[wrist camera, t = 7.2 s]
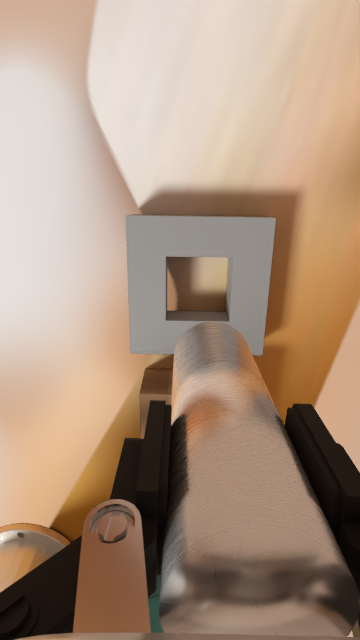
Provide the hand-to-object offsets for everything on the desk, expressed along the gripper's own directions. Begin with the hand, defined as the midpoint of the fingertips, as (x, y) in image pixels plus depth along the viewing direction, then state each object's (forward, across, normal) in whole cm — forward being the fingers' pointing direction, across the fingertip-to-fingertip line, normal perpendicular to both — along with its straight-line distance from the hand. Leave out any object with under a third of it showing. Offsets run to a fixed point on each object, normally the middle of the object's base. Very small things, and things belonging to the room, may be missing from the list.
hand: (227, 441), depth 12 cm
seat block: (+22, 0, -1) cm, 22 cm away
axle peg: (+7, 0, 0) cm, 7 cm away
